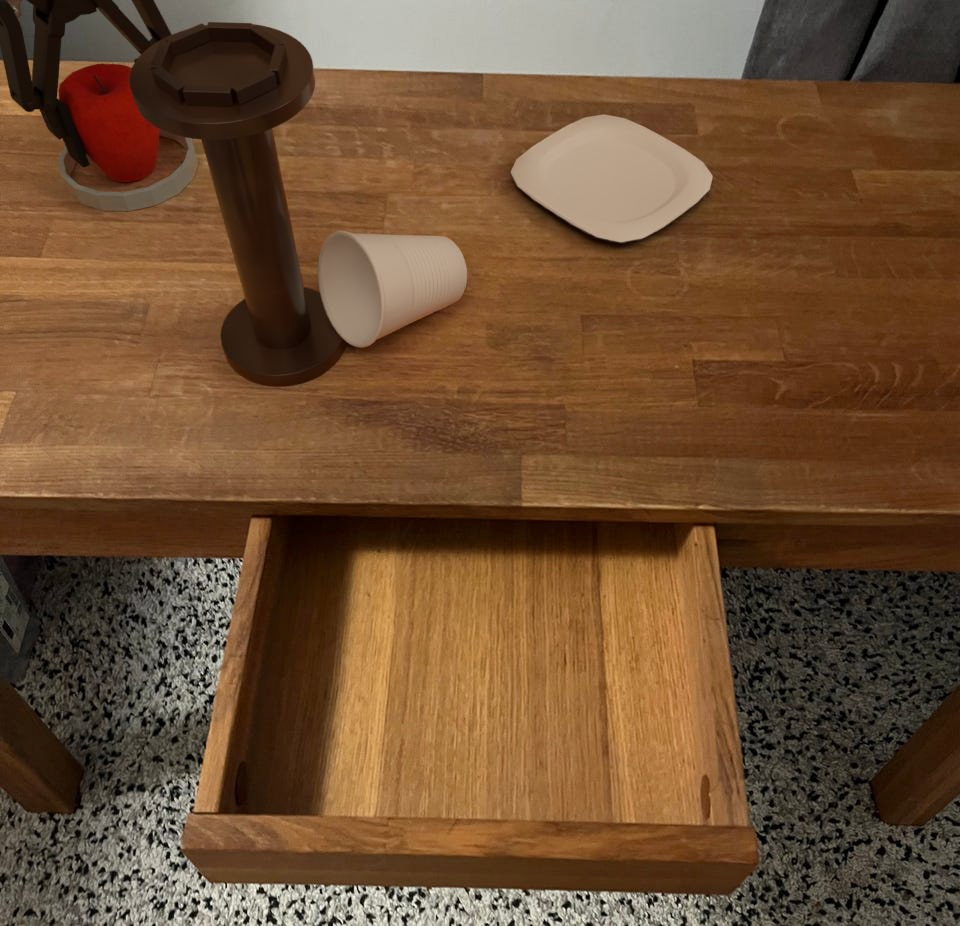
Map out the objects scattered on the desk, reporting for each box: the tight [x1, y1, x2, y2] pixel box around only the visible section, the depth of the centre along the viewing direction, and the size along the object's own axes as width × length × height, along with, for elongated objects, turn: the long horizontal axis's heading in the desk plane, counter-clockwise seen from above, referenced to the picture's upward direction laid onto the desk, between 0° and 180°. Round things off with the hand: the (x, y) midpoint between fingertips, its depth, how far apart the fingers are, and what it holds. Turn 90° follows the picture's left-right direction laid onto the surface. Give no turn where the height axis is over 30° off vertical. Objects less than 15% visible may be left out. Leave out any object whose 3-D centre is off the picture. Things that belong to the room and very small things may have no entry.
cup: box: [317, 230, 468, 349], centre depth 77 cm, size 10×10×11 cm
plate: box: [510, 114, 714, 245], centre depth 92 cm, size 18×18×2 cm
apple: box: [58, 63, 160, 183], centre depth 88 cm, size 9×9×11 cm
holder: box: [129, 21, 347, 387], centre depth 68 cm, size 12×12×27 cm
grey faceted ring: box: [57, 129, 199, 212], centre depth 92 cm, size 14×14×2 cm
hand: (122, 140), depth 90 cm, fingers closed on apple, 9 cm apart
